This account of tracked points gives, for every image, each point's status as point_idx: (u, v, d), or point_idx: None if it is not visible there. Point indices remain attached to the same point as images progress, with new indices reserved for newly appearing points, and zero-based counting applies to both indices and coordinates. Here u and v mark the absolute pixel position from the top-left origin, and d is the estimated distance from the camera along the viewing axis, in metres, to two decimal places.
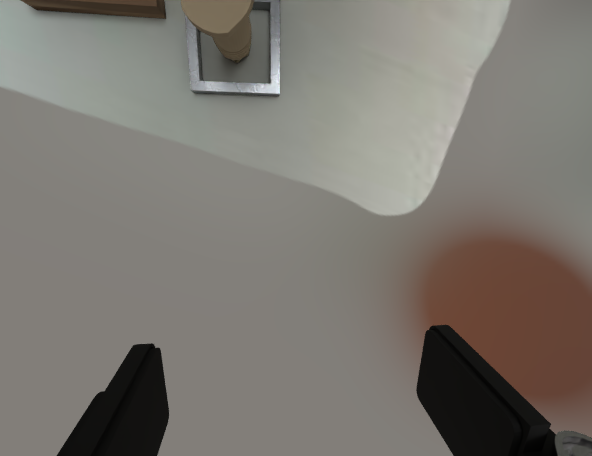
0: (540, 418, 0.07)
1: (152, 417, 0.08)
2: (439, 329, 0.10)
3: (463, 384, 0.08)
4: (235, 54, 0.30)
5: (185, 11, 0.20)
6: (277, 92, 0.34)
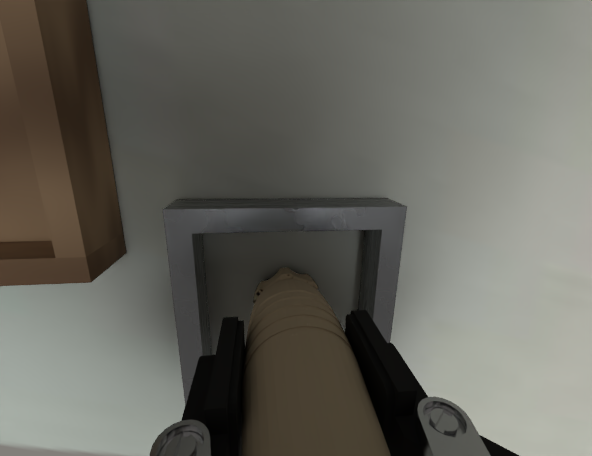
0: (410, 385, 0.08)
1: None
2: (355, 313, 0.11)
3: (364, 360, 0.09)
4: None
5: None
6: None
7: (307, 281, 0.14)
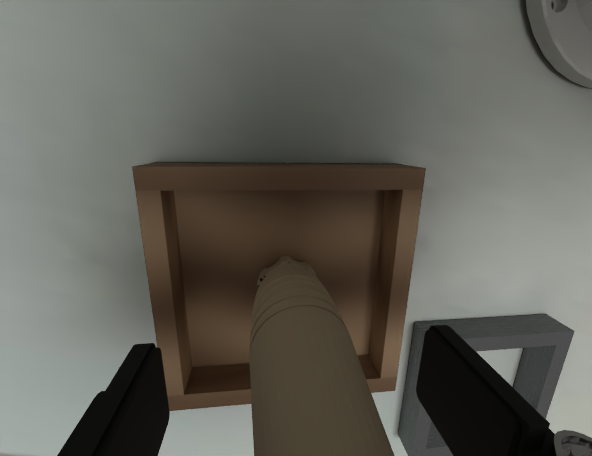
0: (540, 418, 0.07)
1: (153, 417, 0.08)
2: (438, 329, 0.10)
3: (462, 384, 0.08)
4: None
5: None
6: None
7: (306, 268, 0.15)
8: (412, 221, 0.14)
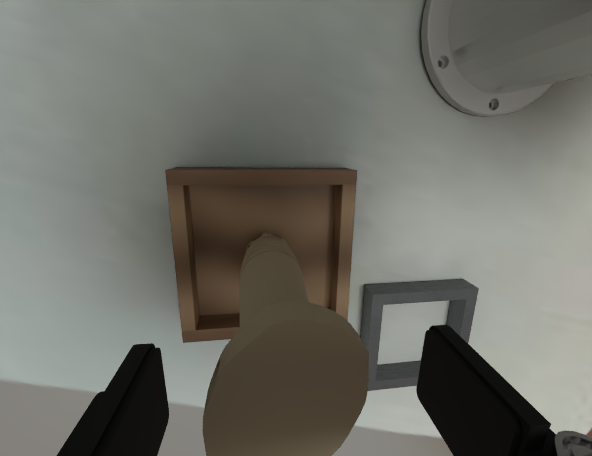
0: (541, 418, 0.07)
1: (152, 417, 0.08)
2: (439, 329, 0.10)
3: (463, 384, 0.08)
4: None
5: None
6: None
7: (280, 239, 0.22)
8: (350, 206, 0.21)
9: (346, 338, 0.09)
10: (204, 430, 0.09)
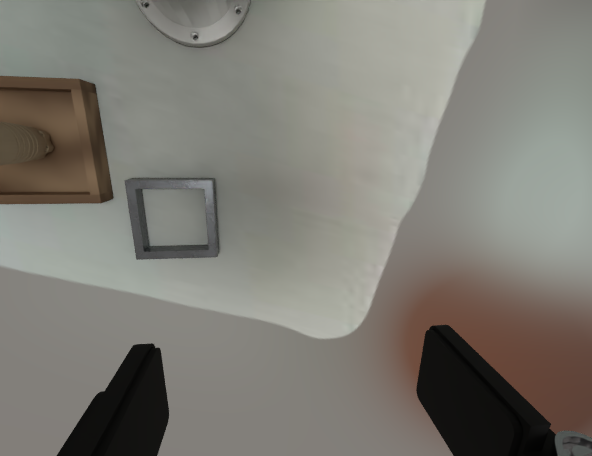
0: (541, 418, 0.07)
1: (152, 417, 0.08)
2: (439, 329, 0.10)
3: (463, 384, 0.08)
4: (11, 163, 0.29)
5: None
6: (215, 256, 0.38)
7: (38, 131, 0.32)
8: (80, 105, 0.31)
9: None
10: None
